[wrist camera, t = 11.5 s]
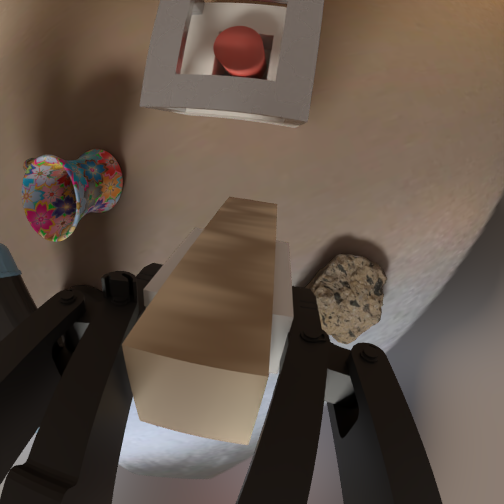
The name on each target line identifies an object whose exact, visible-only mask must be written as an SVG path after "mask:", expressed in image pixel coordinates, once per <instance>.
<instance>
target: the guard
mask: <svg viewBox="0 0 504 504" xmlns="http://www.w3.org/2000/svg"><path fill="white" fill-rule="evenodd" d="M251 1H264V2H274V3H282V4H287V10H286V16H285V23H284V29H283V36H282V42H281V49H280V55H279V62H278V68H277V75H276V81H271V80H263V79H255V78H245V77H234V76H221V75H199V74H180V73H181V67H182V61H183V56H184V50H185V45H186V40H187V35H188V30H189V26H190V21H191V17H192V15H201V14H203V9H204V5H205V2H204V0H160V4H159V7H158V11H157V15H156V19H155V23H154V28H153V32H152V36H151V41H150V46H149V51H148V56H147V61H146V67H145V73H144V79H143V86H142V92H141V100H140V107H145V108H151V109H158V110H164V111H169V112H185V110H186V108H189V109H205V110H218V111H229V112H239V113H248V114H256V115H263V116H270V117H277V118H283V119H284V121H283V123H288V124H294V125H299V126H300V125H302V124H304V123H306V122H308V116H309V109H310V103H311V96H312V89H313V83H314V76H315V68H316V61H317V54H318V46H319V39H320V31H321V22H322V14H323V5H324V0H251Z"/></svg>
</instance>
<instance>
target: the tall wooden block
mask: <svg viewBox="0 0 504 504" xmlns="http://www.w3.org/2000/svg"><path fill="white" fill-rule="evenodd" d="M276 221H277V204H273V203H267V202H260V201H254V200H248V199H241V198H234V197H229V198H228V199H227V200H226V202H225V203H224V204H223V205H222V207H221V208H220V209H219V211H218V212H217V213H216V214H215V216H214V217H213V218H212V220H211V221H210V222H209V223H208V225H207V226H206V227H205V229H204V230H203V231H202V233H201V234H200V235H199V237H198V238H197V239H196V240H195V242H194V243H193V244H192V246H191V247H190V248H189V250H188V251H187V252H186V254H185V255H184V257H183V258H182V259H181V261H180V262H179V263H178V265H177V266H176V267H175V269H174V270H173V271H172V273H171V274H170V276H169V277H168V278H167V280H166V281H165V283H164V284H163V285H162V287H161V288H160V290H159V291H158V292H157V294H156V295H155V297H154V298H153V299H152V301H151V302H150V304H149V305H148V307H147V308H146V309H145V311H144V312H143V314H142V315H141V317H140V318H139V320H138V321H137V323H136V324H135V326H134V327H133V328H132V330H131V331H130V333H129V334H128V336H127V337H126V339H125V340H124V342H123V343H122V348H123V353H124V358H125V363H126V368H127V372H128V377H129V381H130V385H131V389H132V393H133V397H134V401H135V405H136V408H137V412H138V415H139V419H140V421H143V422H146V423H150V424H153V425H156V426H160V427H163V428H167V429H171V430H174V431H178V432H182V433H186V434H191V435H195V436H200V437H204V438H209V439H214V440H220V441H225V442H231V443H237V444H244V445H248V444H249V441H250V438H251V434H252V431H253V428H254V425H255V421H256V418H257V415H258V411H259V408H260V405H261V401H262V398H263V394H264V391H265V387H266V384H267V380H268V377H269V362H270V346H271V329H272V311H273V292H274V271H275V248H276Z"/></svg>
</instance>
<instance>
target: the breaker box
mask: <svg viewBox="0 0 504 504" xmlns="http://www.w3.org/2000/svg"><path fill="white" fill-rule="evenodd" d="M286 10H287V7H280V6H272V5H262V4H248V3H205V5H204V9H203V14H201V15H192V17H191V21H190V26H189V30H188V35H187V40H186V45H185V50H184V56H183V61H182V67H181V73H180V74H199V75H221V76H231V75H230V74H229V73H228V71H227V70H226V69H225V68H224V67H223V65H222V64H221V63H220V62H219V60H218V59H217V58H216V56H215V54H214V50H213V46H214V42H215V39H216V38H217V36H218V35H219V34H220V33H221V32H222V31H224V30H226V29H228V28H230V27H234V26H246V27H249V28H252V29H254V30H255V31H256V32H257V33H258V34H259V35H260V36H261V38H262V41H263V46H264V52H265V58H266V64H267V69H266V72H265V74H264V76H263V77H262V78H261V79H263V80H271V81H276V75H277V68H278V62H279V55H280V49H281V42H282V36H283V29H284V23H285V16H286ZM175 113H180V114H185V115H194V116H208V117H220V118H230V119H239V120H248V121H256V122H263V123H270V124H276V125H283V126H288V127H294V128H296V127H298V126H299V125H294V124H288V123H283V121H284V119H283V118H277V117H270V116H263V115H256V114H248V113H239V112H229V111H218V110H205V109H189V108H186V110H185V112H175Z"/></svg>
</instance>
